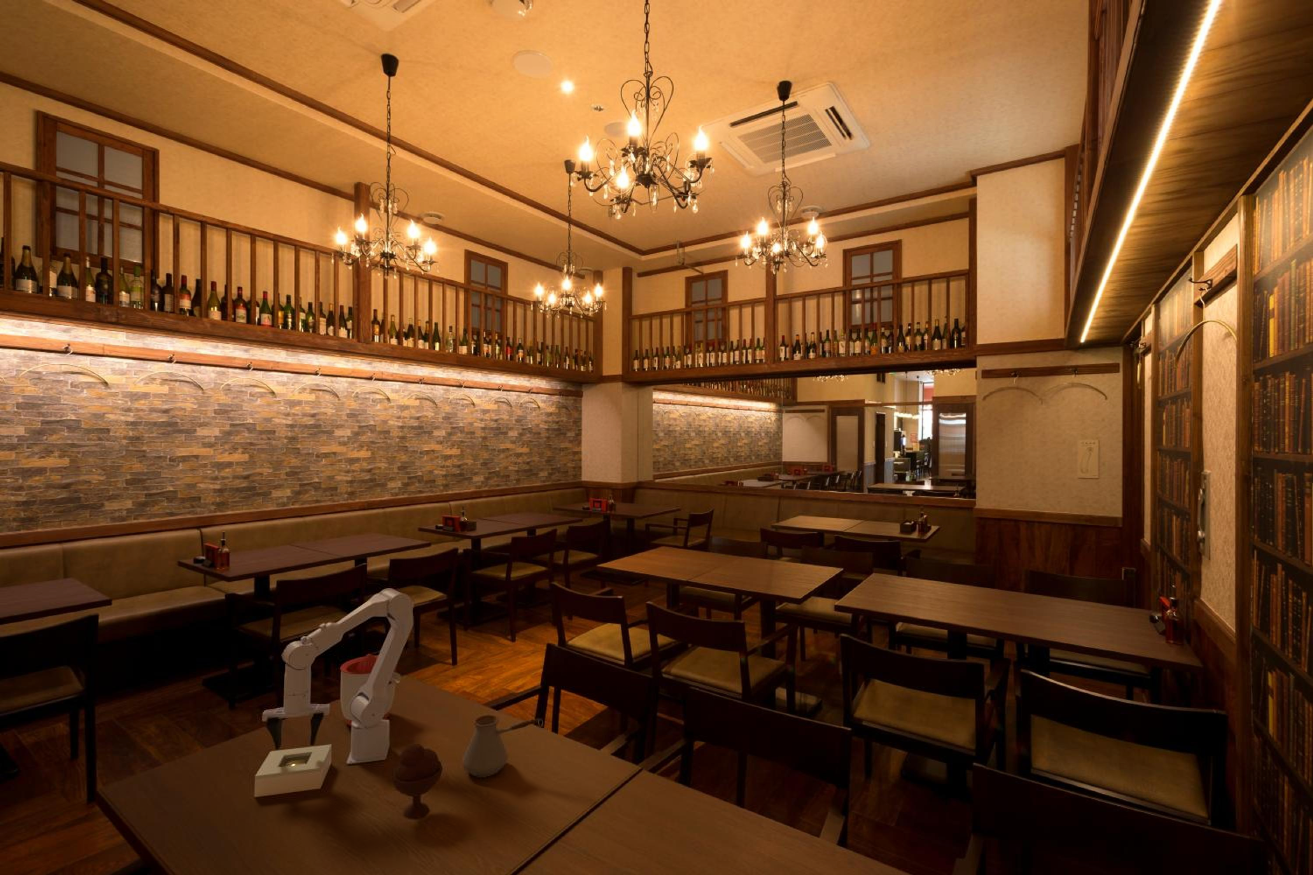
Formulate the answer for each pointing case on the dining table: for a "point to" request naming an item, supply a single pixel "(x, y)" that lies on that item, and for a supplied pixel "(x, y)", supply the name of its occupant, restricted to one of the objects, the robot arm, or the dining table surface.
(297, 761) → the gold rounded piece
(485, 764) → the coffee pot
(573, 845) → the dining table surface
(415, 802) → the ice cream bowl
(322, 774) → the beige square holder
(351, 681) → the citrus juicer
